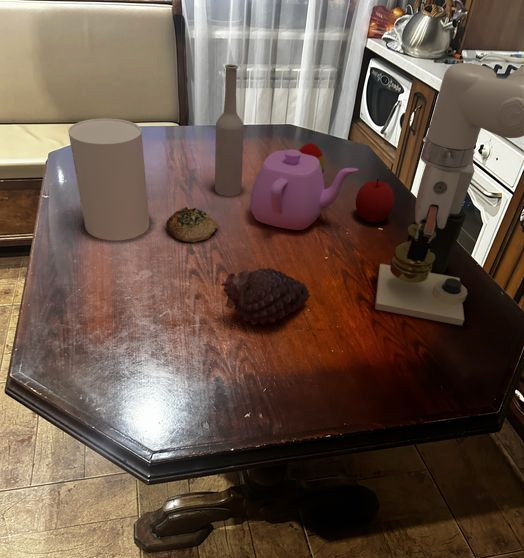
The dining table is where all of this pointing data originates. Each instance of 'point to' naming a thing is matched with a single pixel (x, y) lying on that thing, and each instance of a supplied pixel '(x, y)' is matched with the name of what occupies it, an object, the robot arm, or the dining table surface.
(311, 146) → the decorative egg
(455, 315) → the white base plate
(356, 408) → the dining table surface
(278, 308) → the pine cone
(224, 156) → the bottle
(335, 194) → the teapot
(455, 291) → the dark round knob center
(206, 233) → the bread roll
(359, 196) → the apple
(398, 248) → the brass cabinet knob
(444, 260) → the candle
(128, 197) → the canister
